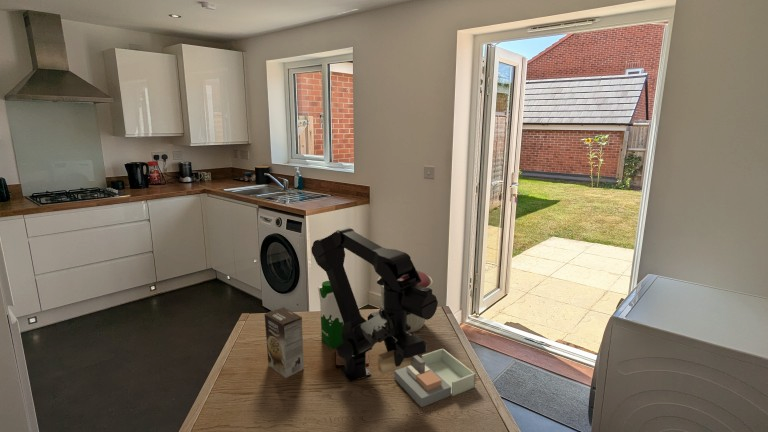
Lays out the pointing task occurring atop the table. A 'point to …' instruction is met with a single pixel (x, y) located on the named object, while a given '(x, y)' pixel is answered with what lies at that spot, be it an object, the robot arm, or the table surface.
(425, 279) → the canister
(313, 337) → the table surface
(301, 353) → the coffee box
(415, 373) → the tile cream
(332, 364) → the table surface
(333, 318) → the milk carton
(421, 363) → the scraper
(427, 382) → the tile terracotta
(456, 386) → the tray
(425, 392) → the grey stepped riser
